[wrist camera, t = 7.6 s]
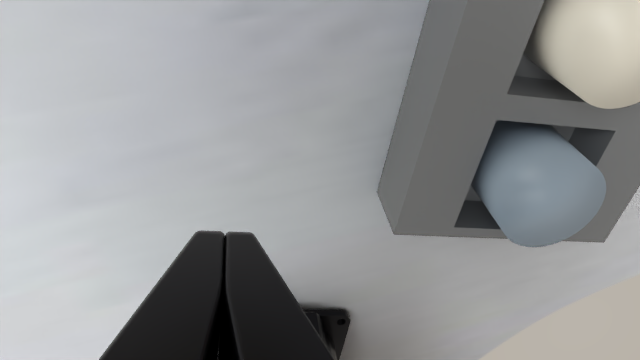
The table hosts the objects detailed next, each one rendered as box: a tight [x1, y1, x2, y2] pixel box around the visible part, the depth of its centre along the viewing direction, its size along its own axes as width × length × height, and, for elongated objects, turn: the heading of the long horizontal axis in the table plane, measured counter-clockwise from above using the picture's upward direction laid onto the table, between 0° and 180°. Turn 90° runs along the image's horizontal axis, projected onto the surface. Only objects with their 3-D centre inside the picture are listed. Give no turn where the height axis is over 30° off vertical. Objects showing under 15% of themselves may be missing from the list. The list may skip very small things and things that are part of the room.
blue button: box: [471, 120, 606, 247], centre depth 19 cm, size 4×4×4 cm
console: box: [377, 0, 640, 242], centre depth 17 cm, size 18×10×3 cm, turn 171°
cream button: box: [524, 0, 640, 109], centre depth 16 cm, size 4×4×4 cm
